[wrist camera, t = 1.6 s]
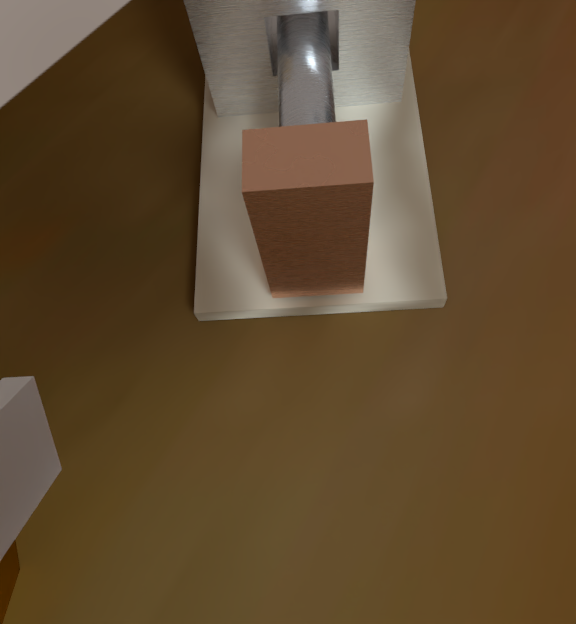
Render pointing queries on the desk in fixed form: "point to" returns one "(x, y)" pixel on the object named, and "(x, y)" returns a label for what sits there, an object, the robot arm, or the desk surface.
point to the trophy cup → (8, 577)
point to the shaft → (308, 174)
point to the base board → (382, 232)
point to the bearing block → (263, 49)
